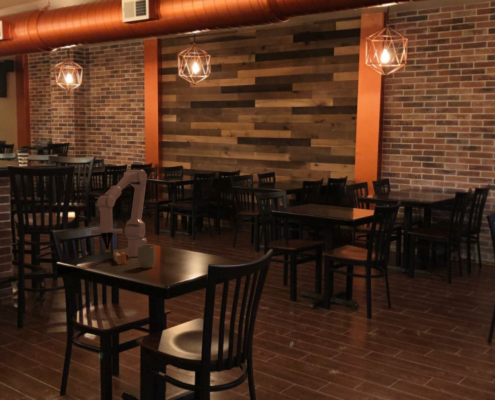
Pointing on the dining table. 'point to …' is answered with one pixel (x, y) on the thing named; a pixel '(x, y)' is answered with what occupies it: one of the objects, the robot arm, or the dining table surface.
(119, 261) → the gate rail
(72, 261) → the dining table surface
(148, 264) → the cup
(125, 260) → the latch stile
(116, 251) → the pivot post
